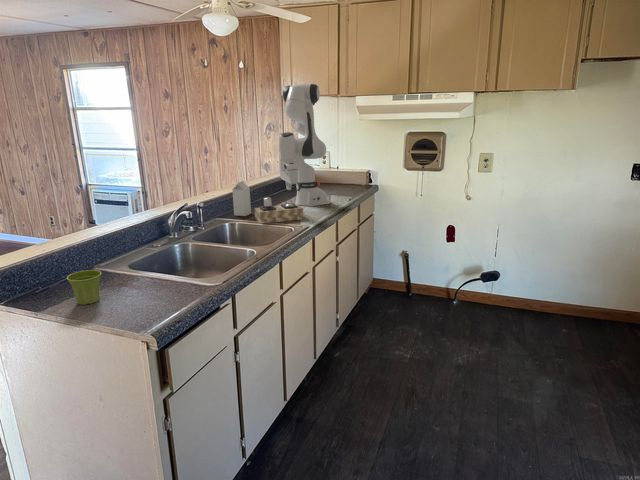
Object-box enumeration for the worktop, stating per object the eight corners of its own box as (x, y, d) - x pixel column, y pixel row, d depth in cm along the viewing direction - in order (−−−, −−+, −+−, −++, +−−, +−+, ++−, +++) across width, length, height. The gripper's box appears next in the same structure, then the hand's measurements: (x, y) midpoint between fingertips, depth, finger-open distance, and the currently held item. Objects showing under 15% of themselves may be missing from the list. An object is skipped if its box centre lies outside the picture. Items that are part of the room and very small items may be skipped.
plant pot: (88, 293, 142) (83, 268, 139) (112, 296, 139) (108, 271, 137) (64, 305, 133) (59, 278, 131) (89, 309, 131) (84, 281, 128)
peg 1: (270, 209, 238) (270, 197, 236) (272, 210, 234) (272, 198, 232) (263, 210, 236) (262, 197, 235) (265, 211, 233) (264, 199, 231)
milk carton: (251, 213, 252) (249, 180, 247) (245, 216, 246) (243, 182, 241) (240, 213, 255) (238, 180, 249) (234, 215, 248) (231, 182, 243)
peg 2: (291, 215, 243) (291, 203, 242) (294, 217, 240) (293, 205, 238) (285, 216, 242) (284, 204, 240) (287, 217, 238) (286, 205, 237)
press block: (296, 214, 249) (296, 202, 247) (303, 219, 238) (303, 206, 236) (255, 218, 240) (254, 206, 238) (260, 223, 229) (259, 210, 227)
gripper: (276, 162, 241) (277, 186, 245) (288, 167, 223) (289, 193, 227) (287, 161, 243) (288, 185, 248) (299, 166, 225) (300, 192, 229)
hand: (288, 189), depth 237 cm, fingers closed
